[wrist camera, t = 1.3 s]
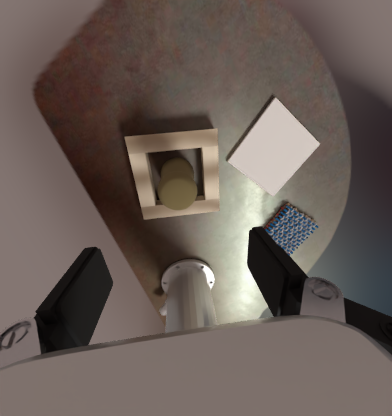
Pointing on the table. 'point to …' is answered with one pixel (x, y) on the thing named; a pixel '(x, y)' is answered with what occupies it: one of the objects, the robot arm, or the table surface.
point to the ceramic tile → (273, 148)
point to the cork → (177, 184)
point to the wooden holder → (175, 141)
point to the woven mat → (281, 226)
